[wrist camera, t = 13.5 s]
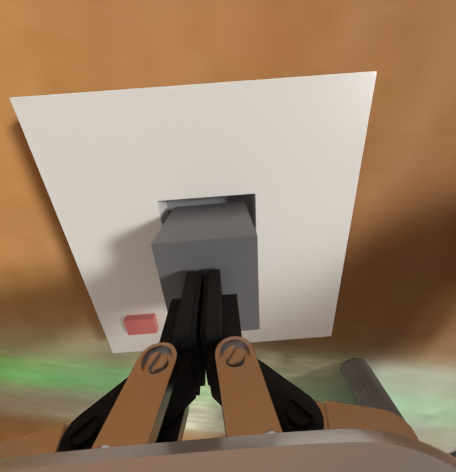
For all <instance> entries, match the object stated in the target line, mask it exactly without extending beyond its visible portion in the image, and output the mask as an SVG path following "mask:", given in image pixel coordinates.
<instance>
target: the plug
mask: <svg viewBox="0 0 456 472" xmlns="http://www.w3.org/2000/svg"><path fill="white" fill-rule="evenodd" d="M151 247H152V251H153V255H154V259H155V263H156V267H157V271H158V275H159V279H160V283H161V287H162V292H163V296H164V300H165V304H166V308H167V312H168V310H169V306H170V303H171V300H172V299H178V298H181V296H182V291H183V287H184V283H185V278H186V274H187V272H191V271H198V272H199V274H201V273H202V274H203V281H204V282H205V273H209V270H216V269H220V274H221V285H222V295H227V294H237V300H238V309H239V317H240V326H241V331H247V330H258V329H260V325H259V283H258V241H257V233H256V230H255V228H254V225H253V223H252V220H251V218H250V215H249V212H248V210H247V207H246V205H245V202H244V201H239V202H227V203H215V204H203V205H192V206H180V207H174V208H173V210H172V212H171V213H170V215H169V216H168V218H167V219H166V221H165V223H164V224H163V226H162V227H161V229H160V231H159V232H158V234H157V235H156V237H155V239H154V240H153V242H152V243H151Z"/></svg>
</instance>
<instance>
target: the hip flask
mask: <svg viewBox="0 0 456 472" xmlns="http://www.w3.org/2000/svg"><path fill="white" fill-rule="evenodd" d="M341 373H342V374H343V376H344V378H345V380H346V382H347V384H348V386H349V388H350V390H351V392H352V394H353V396H354V398H355V399H356V401H357V403H358V405H359V406H365V407H371V408H377V409H383V410H387V411H389V412H392V413H394V414H396V415H398V416H399V417H401V418H402V419H403V420H404V418H403V417H402V415H401V414H400V412H399V411H398V409H397V408H396V406H395V405H394V403H393V402H392V400H391V399H390V397H389V395H388V394H387V392H386V391H385V389H384V388H383V386H382V385H381V383H380V382H379V380H378V379H377V377H376V376H375V374H374V373H373V371H372V369H371V368H370V366H369V365H368V364H367V362H366V361H365V360H363V359H360V358H354V359H350V360H348V361H346V362H345V363H344V364H343V365H342V366H341ZM404 421H405V420H404ZM405 422H406V421H405Z"/></svg>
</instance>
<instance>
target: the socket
mask: <svg viewBox="0 0 456 472" xmlns="http://www.w3.org/2000/svg"><path fill="white" fill-rule="evenodd" d="M376 73H377V71H374V72H360V73H346V74H332V75H318V76H304V77H290V78H276V79H262V80H248V81H235V82H221V83H207V84H193V85H179V86H165V87H151V88H137V89H123V90H109V91H95V92H82V93H68V94H54V95H40V96H26V97H12V98H10V100H11V103H12V105H13V108H14V110H15V112H16V115H17V117H18V120H19V122H20V125H21V127H22V130H23V132H24V135H25V137H26V140H27V142H28V145H29V147H30V150H31V152H32V154H33V157H34V159H35V162H36V164H37V167H38V169H39V172H40V174H41V177H42V179H43V182H44V184H45V187H46V189H47V192H48V194H49V196H50V199H51V201H52V204H53V206H54V209H55V211H56V214H57V216H58V219H59V221H60V224H61V226H62V229H63V231H64V234H65V236H66V238H67V241H68V243H69V246H70V248H71V251H72V253H73V256H74V258H75V261H76V263H77V266H78V268H79V271H80V273H81V276H82V278H83V280H84V283H85V285H86V288H87V290H88V293H89V295H90V298H91V300H92V303H93V305H94V308H95V310H96V313H97V315H98V318H99V320H100V322H101V325H102V327H103V330H104V332H105V335H106V337H107V340H108V342H109V345H110V347H111V350H112V352H113V353H125V352H137V351H144V350H145V349H146V348H148V347H149V346H151V345H153V344H156V343H159V341H160V338H161V334H162V331H163V327H164V324H165V320H166V317H167V313H168V312H167V308H166V304H165V300H164V296H163V292H162V287H161V283H160V279H159V275H158V271H157V267H156V263H155V259H154V255H153V251H152V247H151V243H152V242H153V240H154V239H155V237H156V235H157V234H158V232H159V231H160V229H161V227H162V226H163V224H164V223H165V221H166V219H167V218H168V216H169V215H170V213H171V212H172V210H173V208H174V207H180V206H192V205H203V204H215V203H227V202H239V201H244V202H245V205H246V207H247V210H248V212H249V215H250V218H251V220H252V223H253V225H254V228H255V230H256V233H257V241H258V283H259V325H260V329H258V330H247V331H241V334H242V338H244V339H246V340H248V341H249V342H250V343H251V342H263V341H276V340H289V339H301V338H314V337H326V336H331V335H332V329H333V323H334V317H335V311H336V306H337V300H338V294H339V288H340V282H341V277H342V271H343V265H344V259H345V253H346V248H347V242H348V236H349V230H350V224H351V219H352V213H353V207H354V201H355V195H356V190H357V184H358V178H359V172H360V166H361V161H362V155H363V149H364V143H365V137H366V132H367V126H368V120H369V114H370V108H371V102H372V97H373V91H374V85H375V79H376Z"/></svg>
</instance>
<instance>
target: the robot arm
mask: <svg viewBox="0 0 456 472" xmlns="http://www.w3.org/2000/svg"><path fill="white" fill-rule="evenodd" d="M205 373H206V374H207V380H208V385H210V387H211V393H212V397H213V398H214V399H215V400H216V401H217V402H218V403H219V404H220V405H221V406H222V412H223V419H224V425H225V432H226V437H222V438H210V439H198V440H187V441H182V438H183V434H184V429H185V425H186V421H187V417H188V413H189V404H190V403H191V402H192V401H193V400H194V399H195V398H196V395H200V386H204V385H205ZM0 472H456V458H455V457H453V456H451V455H450V454H448V453H446V452H444V451H442V450H440V449H438V448H436V447H434V446H432V445H429V444H426V443H424V442H421V441H419V440H418V438H417V436H416V434H415V433H414V431H413V430H412V428H411V427H410V426H409V425H408V424H407V423H406V422H405V421H404V420H403V419H402V418H401V417H399V416H398V415H396V414H394V413H392V412H389V411H387V410H383V409H377V408H371V407H365V406H359V405H353V404H347V403H341V402H335V401H329V400H325V402H324V403H322V402H316V401H314V400H313V399H312V398H311V397H310V396H309V395H307V394H306V393H305V392H303V391H302V390H300V389H299V388H298V387H296V386H295V385H293V384H292V383H291V382H289V381H288V380H286V379H285V378H284V377H282V376H281V375H279V374H278V373H277V372H275V371H274V370H272V369H271V368H270V367H268V366H267V365H265V364H264V363H263V362H261V361H260V360H258V359H257V357H256V354H255V351H254V348H253V346H252V344H251V343H250V342H249V341H248V340H246V339H244V338H242V334H241V326H240V317H239V309H238V300H237V294H227V295H222V285H221V274H220V269H216V270H209V273H205V282H204V281H203V274H202V273H201V274H199V272H198V271H191V272H187V274H186V278H185V283H184V287H183V291H182V296H181V298H178V299H172V300H171V303H170V306H169V310H168V313H167V317H166V320H165V324H164V327H163V331H162V334H161V338H160V341H159V343H156V344H153V345H151V346H149V347H148V348H146V349H145V350H144V351H143V352H142V353H141V355H140V356H139V358H138V359H137V361H136V363H135V365H134V367H133V369H132V371H131V373H130V375H129V377H128V378H126V379H125V380H124V381H123V382H121V383H120V384H119V385H117V386H116V387H115V388H114V389H112V390H111V391H110V392H109V393H107V394H106V395H105V396H103V397H102V398H101V399H100V400H98V401H97V402H96V403H94V404H93V405H92V406H91V407H89V408H88V409H87V410H86V411H84V412H83V413H82V414H80V415H79V416H78V417H77V418H76V419H75V420H74V421H73V422H72V423H71V424H69V425H66V423H65V422H64V423H61V424H58V425H55V426H52V427H49V428H46V429H43V430H39V431H36V432H33V433H30V434H27V435H24V436H21V437H18V438H15V439H12V440H9V441H6V442H3V443H0Z"/></svg>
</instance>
